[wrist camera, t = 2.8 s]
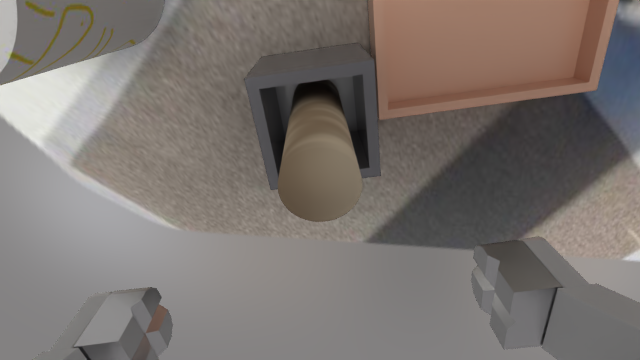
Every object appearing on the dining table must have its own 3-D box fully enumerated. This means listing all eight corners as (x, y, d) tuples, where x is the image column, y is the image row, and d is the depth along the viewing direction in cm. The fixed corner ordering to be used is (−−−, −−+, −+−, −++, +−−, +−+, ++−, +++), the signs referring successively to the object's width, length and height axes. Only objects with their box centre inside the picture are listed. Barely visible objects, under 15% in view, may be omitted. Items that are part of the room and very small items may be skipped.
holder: (357, 42, 22) (374, 59, 17) (364, 134, 25) (380, 175, 20) (261, 56, 23) (244, 78, 17) (279, 145, 26) (270, 189, 20)
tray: (619, -120, 19) (652, -133, 17) (574, 82, 24) (596, 90, 22) (362, -79, 19) (368, -86, 17) (374, 110, 25) (379, 120, 23)
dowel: (336, 72, 23) (359, 142, 12) (341, 119, 24) (365, 216, 14) (289, 79, 23) (270, 154, 12) (297, 125, 24) (286, 226, 14)
